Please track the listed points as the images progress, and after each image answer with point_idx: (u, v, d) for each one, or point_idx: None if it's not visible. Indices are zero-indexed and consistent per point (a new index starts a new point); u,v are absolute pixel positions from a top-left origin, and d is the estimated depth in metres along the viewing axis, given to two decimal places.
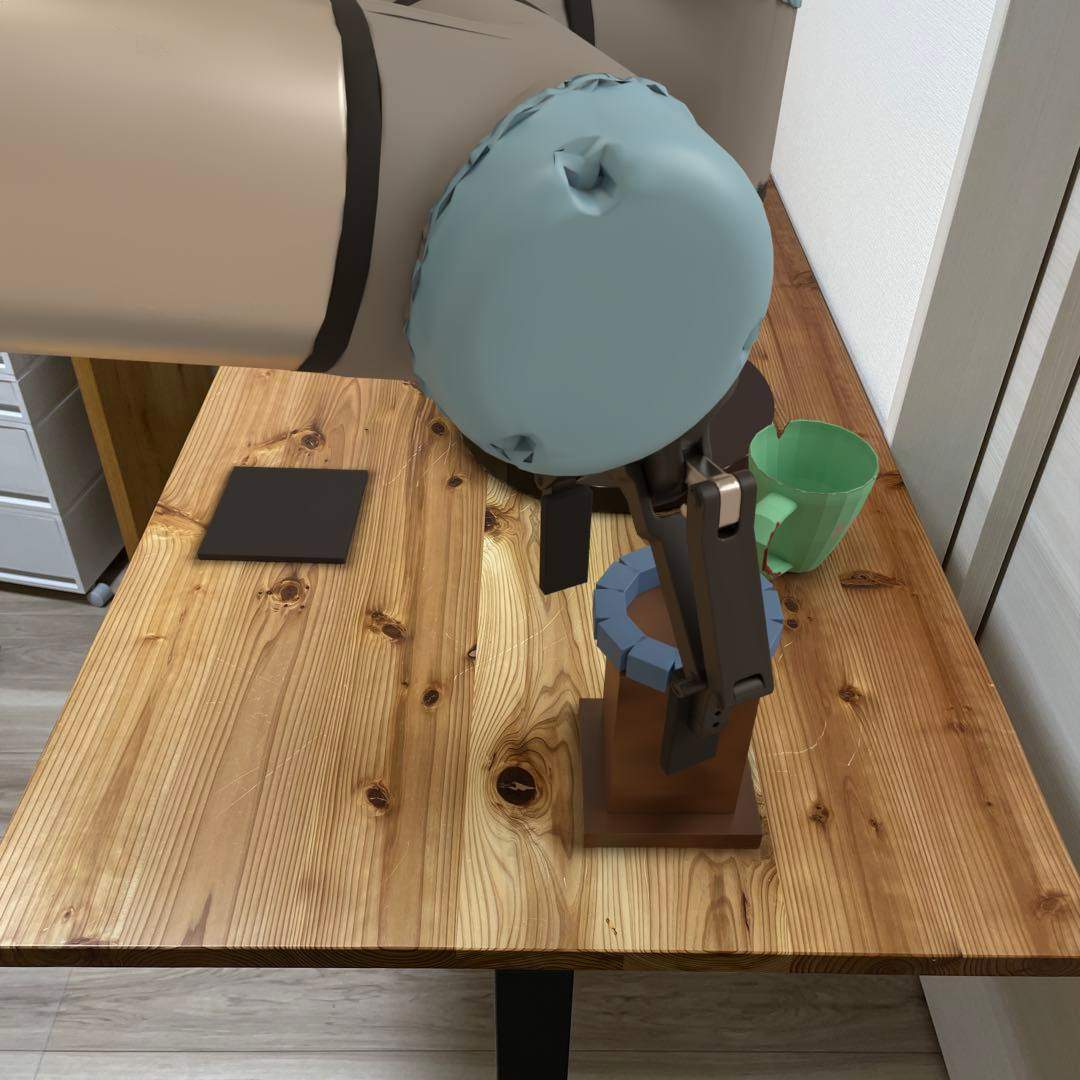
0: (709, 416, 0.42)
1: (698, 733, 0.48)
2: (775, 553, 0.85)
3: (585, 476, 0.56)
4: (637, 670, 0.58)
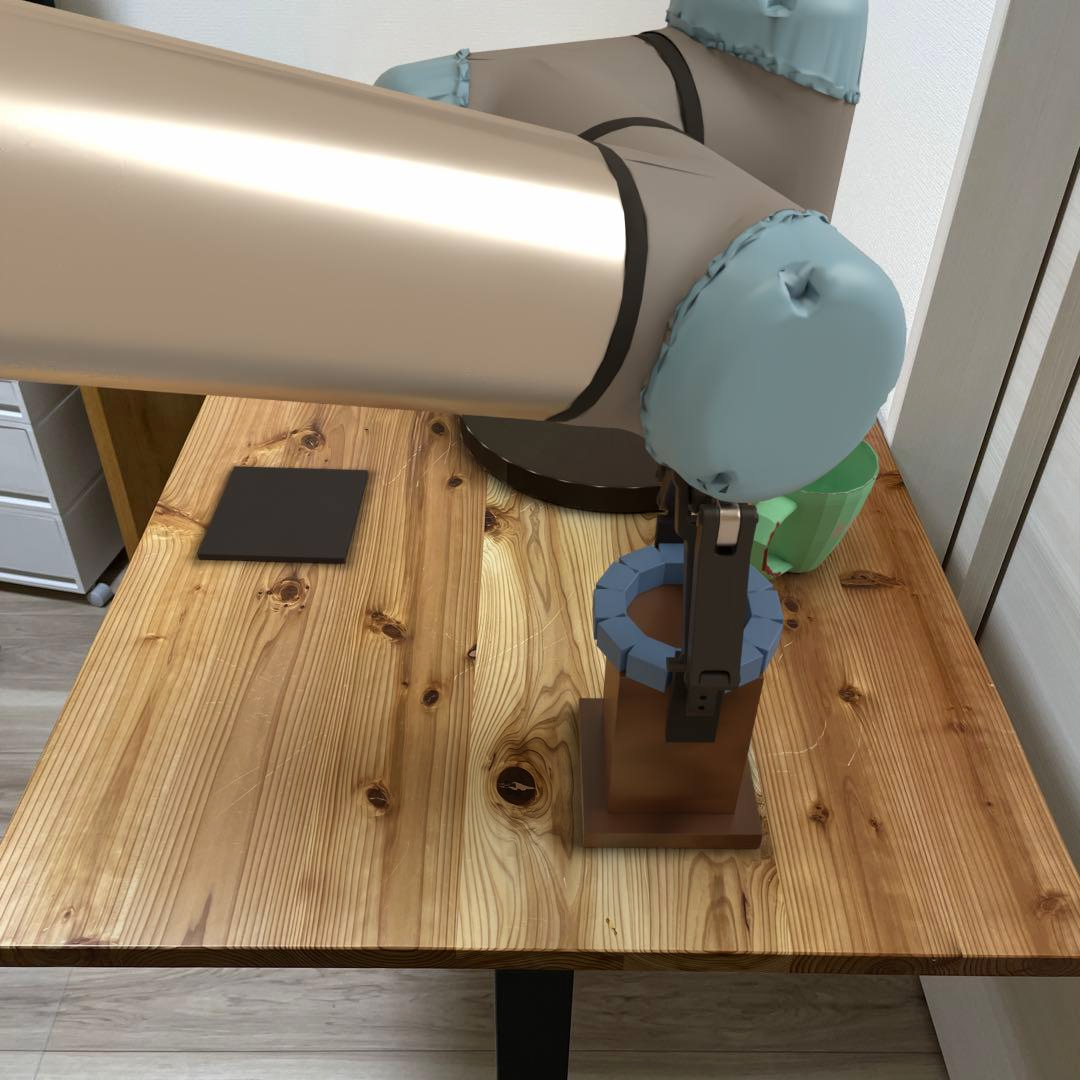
0: None
1: (686, 710, 0.56)
2: (775, 553, 0.85)
3: None
4: (637, 670, 0.58)
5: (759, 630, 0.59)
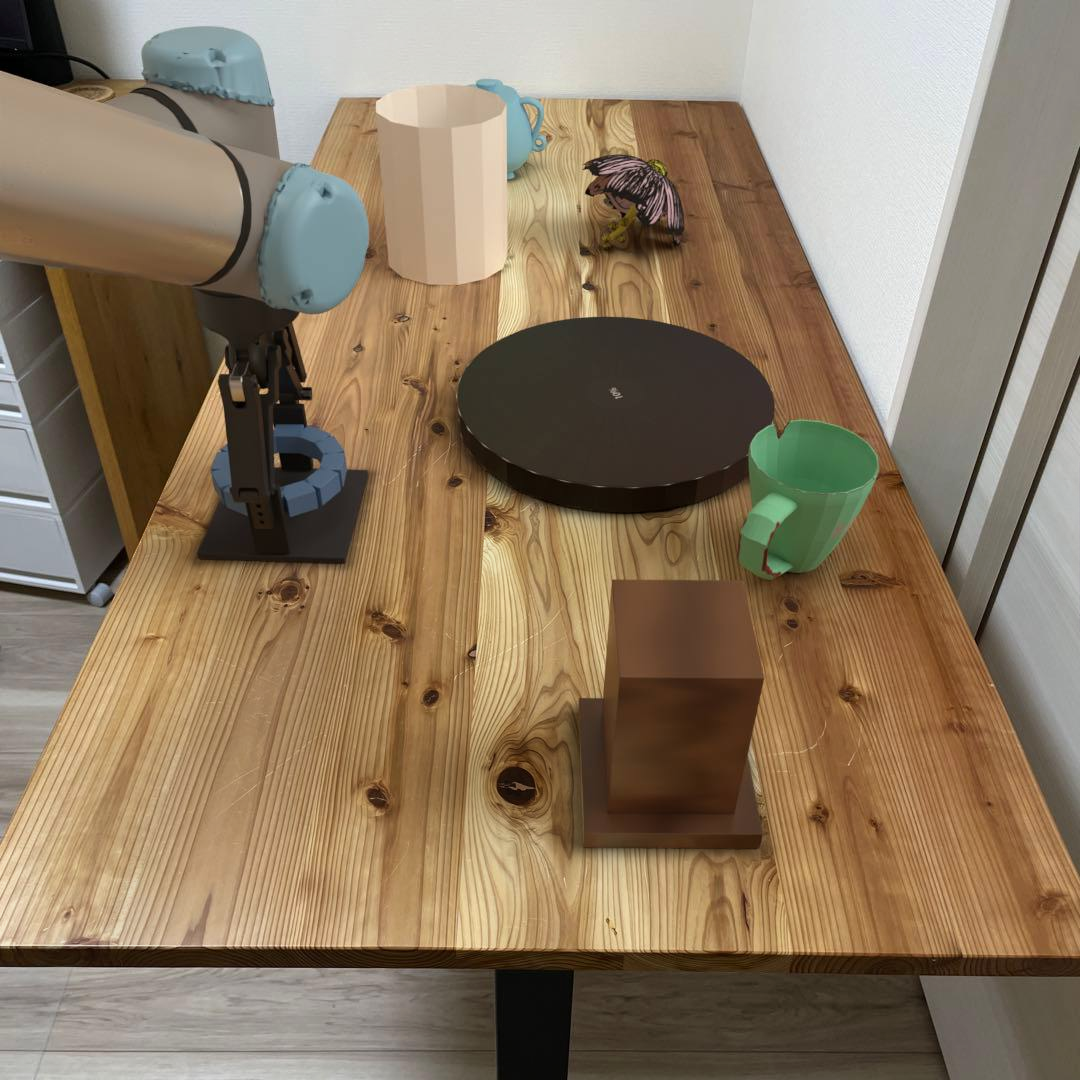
0: (250, 336, 0.76)
1: (254, 524, 0.83)
2: (775, 553, 0.85)
3: (298, 396, 0.90)
4: (230, 501, 0.85)
5: (320, 476, 0.86)
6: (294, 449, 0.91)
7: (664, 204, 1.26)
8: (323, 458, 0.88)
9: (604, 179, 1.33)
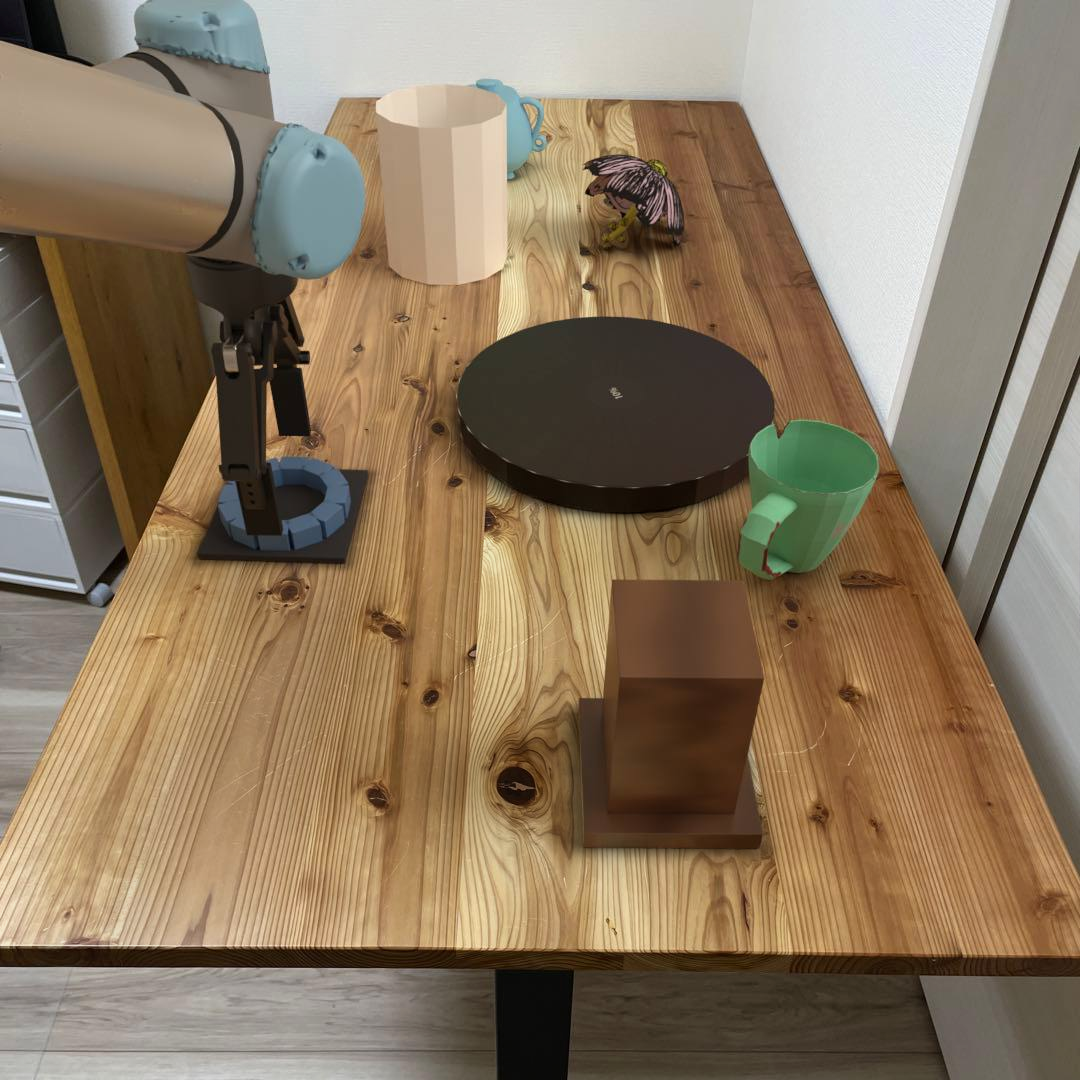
0: (245, 311, 0.75)
1: (244, 504, 0.80)
2: (775, 553, 0.85)
3: (296, 361, 0.89)
4: (237, 534, 0.87)
5: (324, 509, 0.88)
6: (299, 481, 0.93)
7: (664, 204, 1.26)
8: (327, 491, 0.90)
9: (604, 179, 1.33)
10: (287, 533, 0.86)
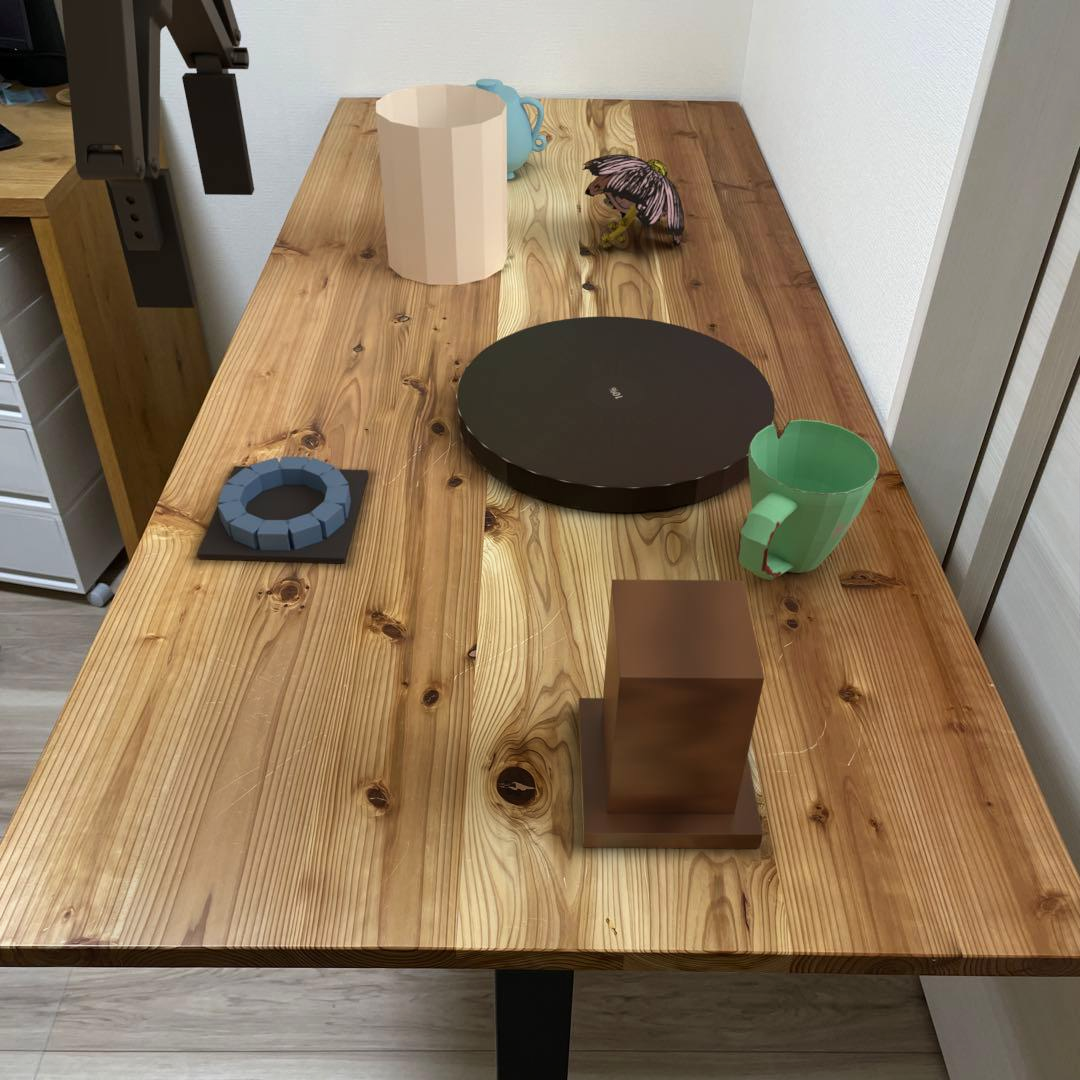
0: None
1: (126, 241, 0.48)
2: (775, 553, 0.85)
3: (225, 59, 0.57)
4: (237, 534, 0.87)
5: (324, 509, 0.88)
6: (299, 481, 0.93)
7: (664, 204, 1.26)
8: (327, 491, 0.90)
9: (604, 179, 1.33)
10: (287, 533, 0.86)
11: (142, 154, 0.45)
